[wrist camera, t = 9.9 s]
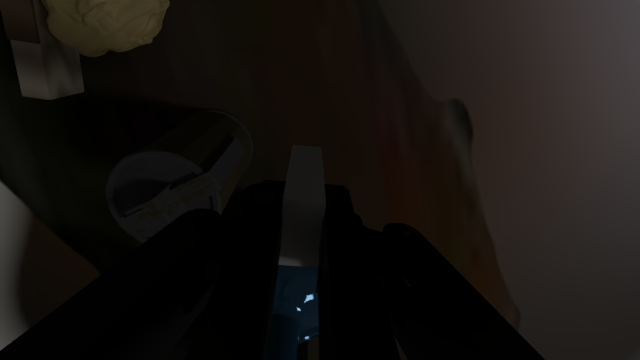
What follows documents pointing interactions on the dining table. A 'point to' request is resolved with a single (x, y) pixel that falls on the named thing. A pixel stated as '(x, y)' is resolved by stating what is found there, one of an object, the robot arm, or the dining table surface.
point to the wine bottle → (293, 311)
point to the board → (40, 52)
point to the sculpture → (105, 23)
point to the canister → (179, 173)
